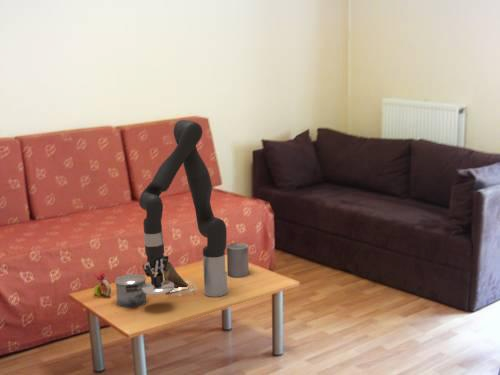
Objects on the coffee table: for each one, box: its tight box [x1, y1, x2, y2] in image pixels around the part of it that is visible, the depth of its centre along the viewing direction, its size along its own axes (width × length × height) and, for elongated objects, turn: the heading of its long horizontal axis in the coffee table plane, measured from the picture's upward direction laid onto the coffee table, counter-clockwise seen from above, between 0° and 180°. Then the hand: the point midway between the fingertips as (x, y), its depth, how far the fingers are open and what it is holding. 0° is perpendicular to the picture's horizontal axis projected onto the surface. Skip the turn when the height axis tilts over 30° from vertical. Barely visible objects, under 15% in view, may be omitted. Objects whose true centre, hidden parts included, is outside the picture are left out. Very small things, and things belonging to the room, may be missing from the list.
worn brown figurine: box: [163, 261, 189, 295], centre depth 304 cm, size 12×6×18 cm, turn 122°
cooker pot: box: [114, 273, 148, 308], centre depth 293 cm, size 18×13×10 cm
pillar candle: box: [226, 242, 250, 279], centre depth 322 cm, size 10×10×15 cm
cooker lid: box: [141, 273, 174, 296], centre depth 284 cm, size 13×13×6 cm
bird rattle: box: [93, 270, 112, 298], centre depth 301 cm, size 6×11×9 cm
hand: (157, 283), depth 284 cm, fingers closed on cooker lid, 3 cm apart
